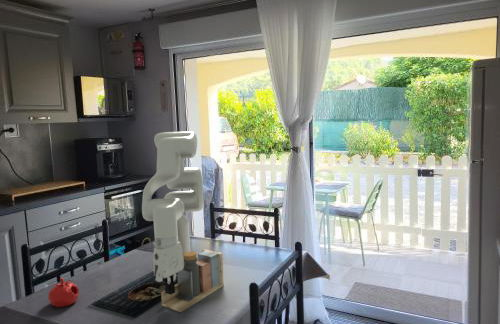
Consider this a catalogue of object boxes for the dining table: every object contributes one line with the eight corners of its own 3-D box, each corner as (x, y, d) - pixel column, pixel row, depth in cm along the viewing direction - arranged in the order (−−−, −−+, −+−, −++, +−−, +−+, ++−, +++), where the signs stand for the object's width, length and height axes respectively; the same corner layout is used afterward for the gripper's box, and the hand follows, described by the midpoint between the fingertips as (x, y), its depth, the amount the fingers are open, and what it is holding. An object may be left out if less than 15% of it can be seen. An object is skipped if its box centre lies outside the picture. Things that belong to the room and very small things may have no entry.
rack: (161, 305, 131) (159, 269, 129) (205, 280, 150) (204, 249, 148) (180, 312, 126) (178, 275, 124) (223, 285, 145) (222, 253, 143)
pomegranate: (51, 313, 128) (48, 287, 127) (46, 302, 137) (43, 278, 135) (82, 304, 134) (79, 279, 133) (76, 293, 142) (73, 270, 141)
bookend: (175, 297, 134) (173, 269, 133) (180, 294, 136) (178, 267, 135) (188, 301, 131) (187, 273, 130) (193, 298, 133) (191, 271, 132)
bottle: (203, 291, 139) (200, 251, 137) (195, 298, 133) (193, 257, 132) (188, 289, 141) (186, 250, 139) (180, 296, 135) (178, 255, 134)
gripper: (157, 249, 118) (161, 305, 121) (190, 236, 130) (193, 286, 133) (141, 245, 122) (145, 299, 125) (174, 232, 135) (178, 281, 137)
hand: (170, 292), depth 129 cm, fingers closed
